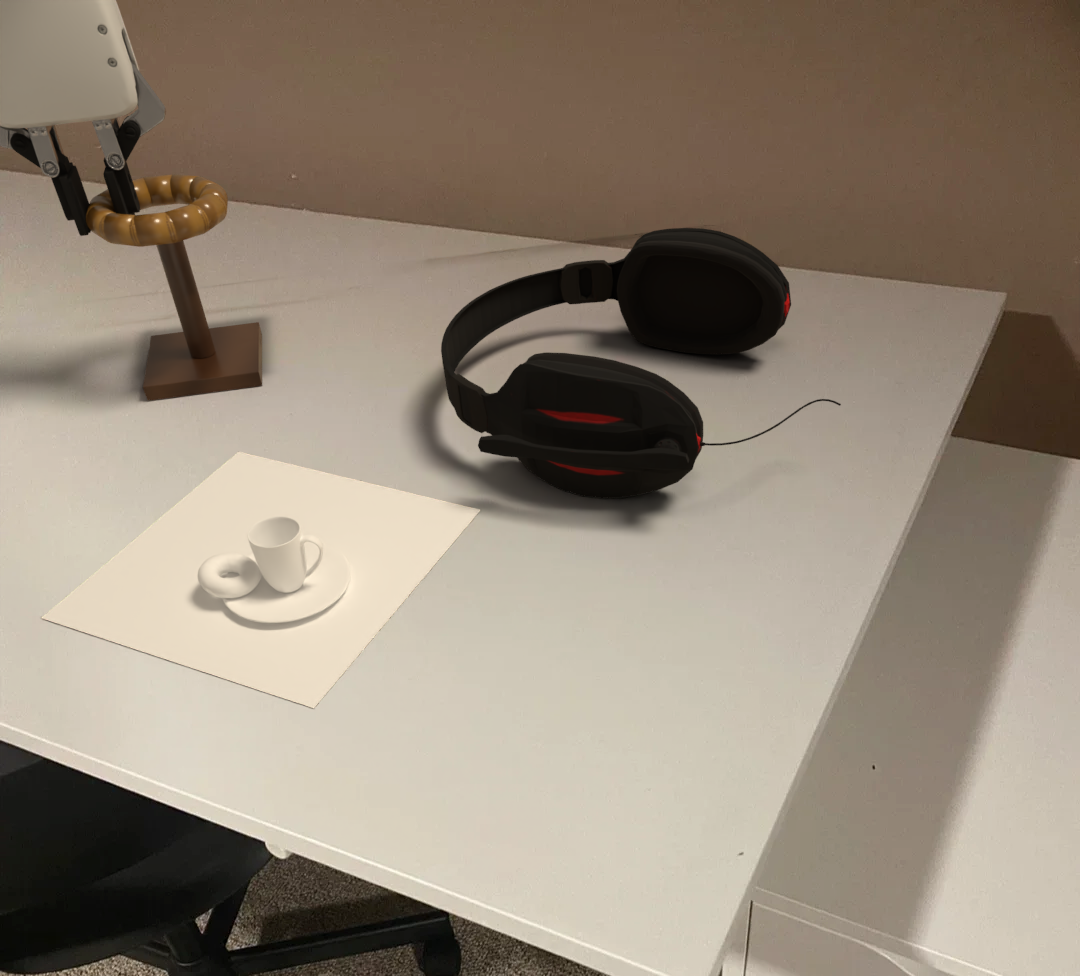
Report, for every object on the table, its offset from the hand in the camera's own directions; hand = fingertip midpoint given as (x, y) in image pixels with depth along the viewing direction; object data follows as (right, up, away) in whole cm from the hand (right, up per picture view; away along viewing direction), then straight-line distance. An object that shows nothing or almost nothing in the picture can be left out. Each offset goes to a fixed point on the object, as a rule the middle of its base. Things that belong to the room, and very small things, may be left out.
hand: (107, 224), depth 74 cm
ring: (+4, +1, 0) cm, 4 cm away
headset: (+39, -14, +1) cm, 42 cm away
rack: (+4, -7, +9) cm, 12 cm away
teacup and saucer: (+15, -26, -9) cm, 32 cm away
